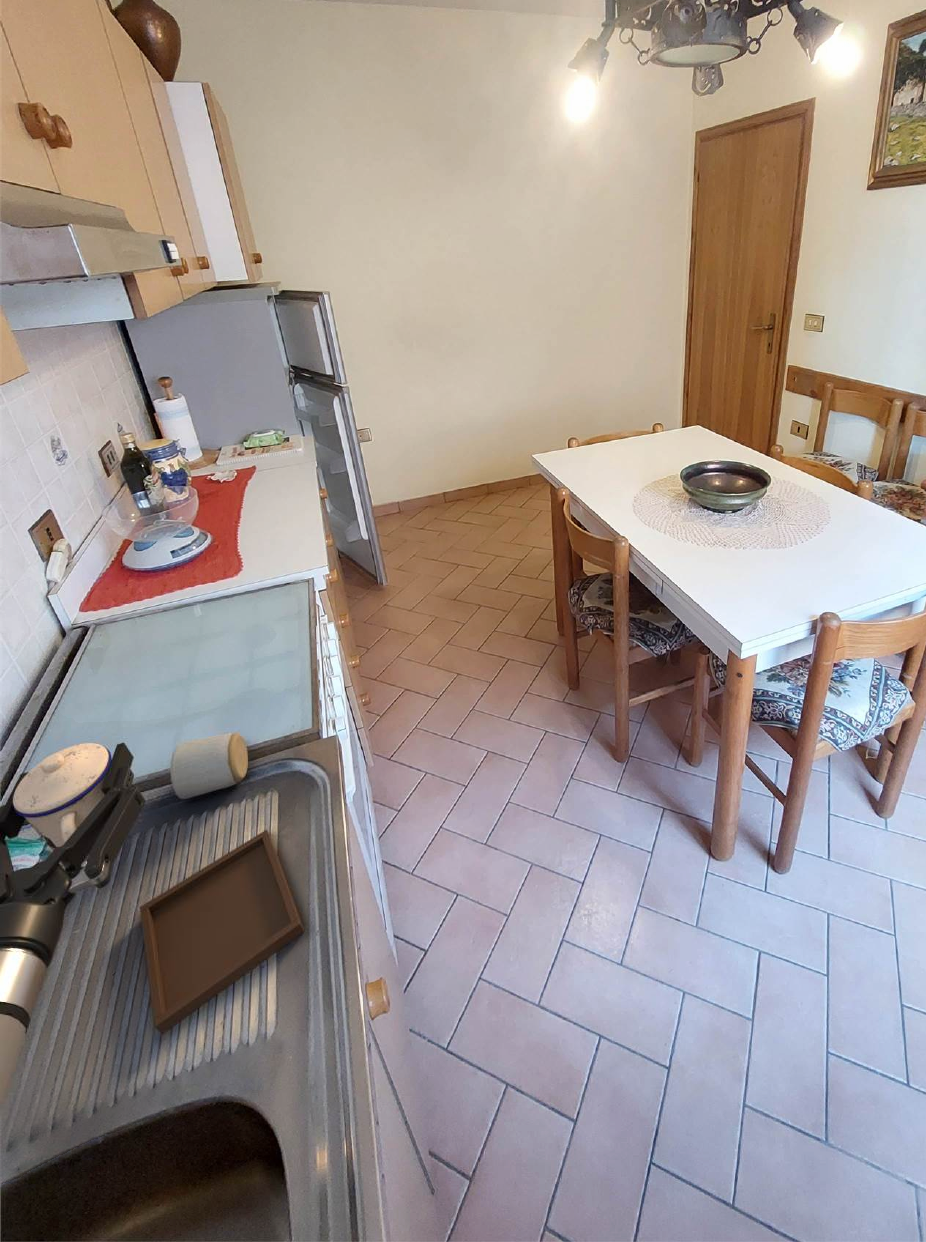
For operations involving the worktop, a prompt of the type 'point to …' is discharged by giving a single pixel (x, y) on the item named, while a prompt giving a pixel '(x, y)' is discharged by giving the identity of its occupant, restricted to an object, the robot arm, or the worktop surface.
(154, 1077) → the worktop surface
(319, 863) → the worktop surface
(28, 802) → the teacup with lid
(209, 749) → the ceramic mug
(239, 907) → the rectangular tray
